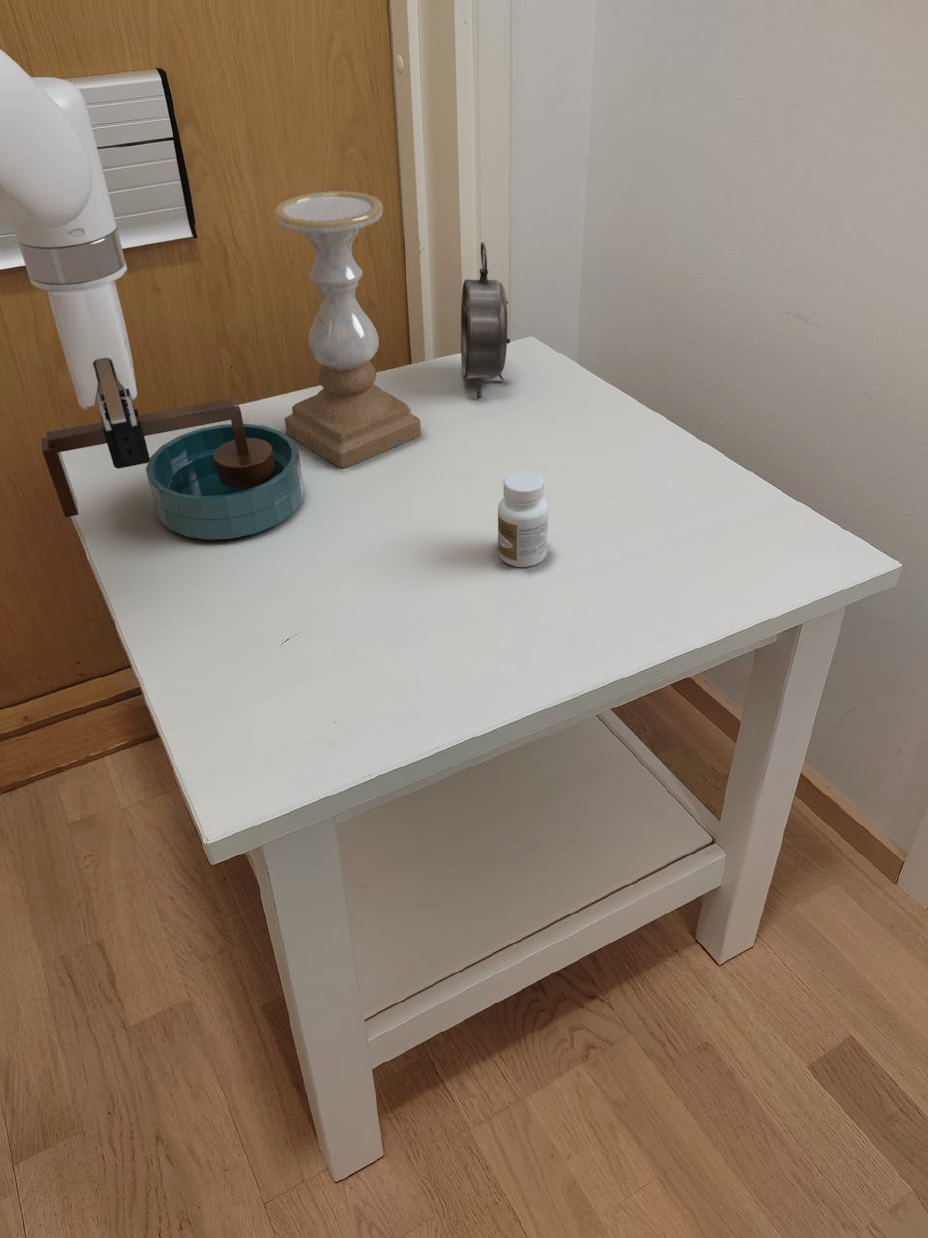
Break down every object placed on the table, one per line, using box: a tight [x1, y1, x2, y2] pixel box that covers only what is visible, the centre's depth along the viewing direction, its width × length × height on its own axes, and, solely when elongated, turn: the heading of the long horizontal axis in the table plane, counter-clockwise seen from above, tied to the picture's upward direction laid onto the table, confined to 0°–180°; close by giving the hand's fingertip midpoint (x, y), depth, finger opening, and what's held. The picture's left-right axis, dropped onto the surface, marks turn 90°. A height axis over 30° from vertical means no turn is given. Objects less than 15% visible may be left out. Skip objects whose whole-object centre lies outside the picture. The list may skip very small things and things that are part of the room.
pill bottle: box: [497, 470, 549, 568], centre depth 84 cm, size 4×4×8 cm
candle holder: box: [274, 190, 422, 469], centre depth 97 cm, size 11×11×24 cm
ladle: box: [40, 398, 276, 518], centre depth 89 cm, size 20×6×8 cm, turn 111°
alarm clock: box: [460, 241, 511, 399], centre depth 109 cm, size 11×5×16 cm, turn 3°
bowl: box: [145, 423, 305, 541], centre depth 93 cm, size 14×14×5 cm
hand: (130, 456), depth 88 cm, fingers closed on ladle
